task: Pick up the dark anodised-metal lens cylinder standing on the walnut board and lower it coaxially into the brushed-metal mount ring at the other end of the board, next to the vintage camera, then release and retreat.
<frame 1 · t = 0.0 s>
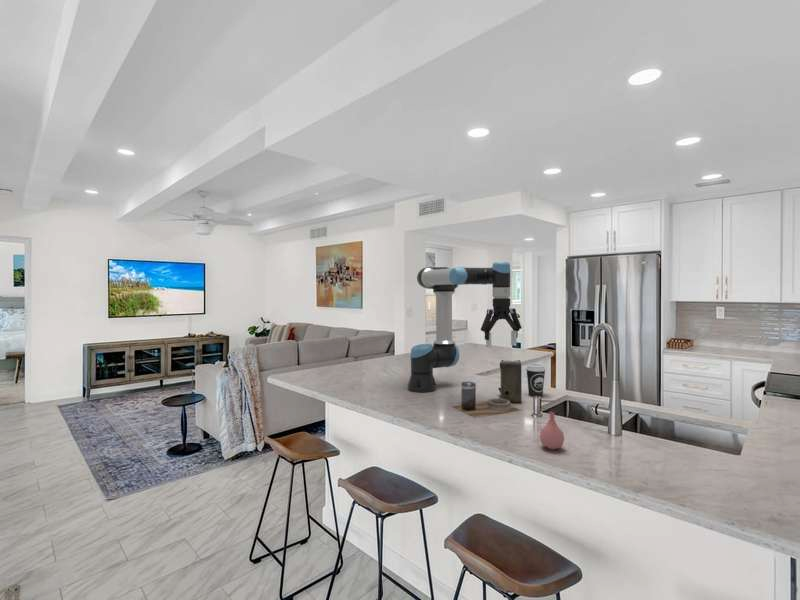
hand: (501, 346, 182), 28 cm above the countertop, fingers open, 13 cm apart
perfume bottle: (551, 448, 140), on the countertop
lens: (468, 408, 181), point 1 cm above the countertop, touching mount board
mount board: (486, 411, 181), on the countertop
vintage camera: (508, 399, 201), on the countertop
coffee cup: (535, 396, 207), on the countertop
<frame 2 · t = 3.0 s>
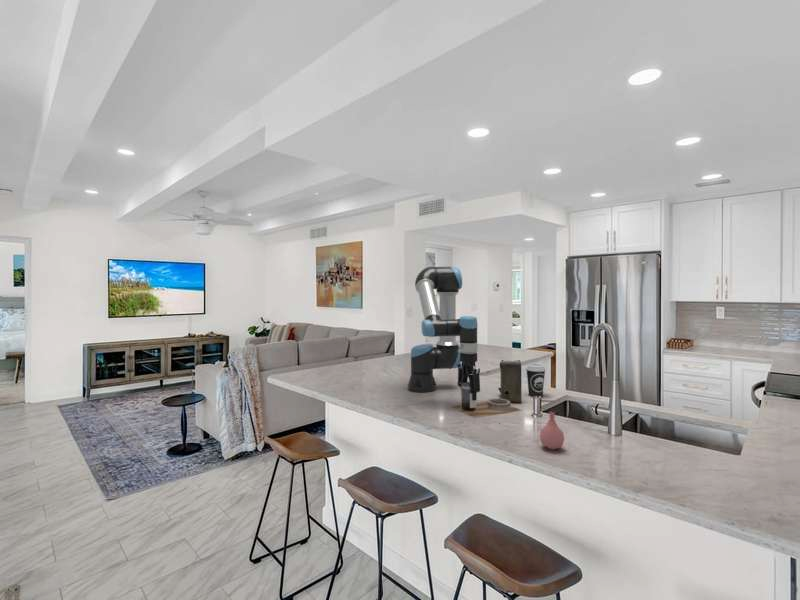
hand: (468, 405, 180), 3 cm above the countertop, fingers closed on lens, 6 cm apart
lens: (468, 408, 181), point 2 cm above the countertop, touching gripper, mount board
everything else where it was.
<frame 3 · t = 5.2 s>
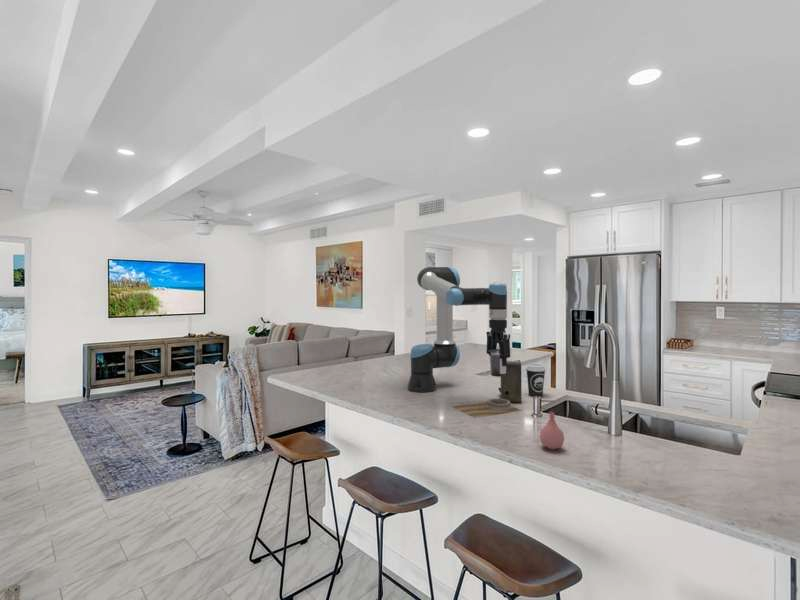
hand: (498, 372, 182), 17 cm above the countertop, fingers closed on lens, 6 cm apart
lens: (498, 375, 182), point 16 cm above the countertop, touching gripper
everything else where it was.
when the fingers open (4 cm above the countertop, at t = 7.4 s): lens drops 1 cm, resting on mount board.
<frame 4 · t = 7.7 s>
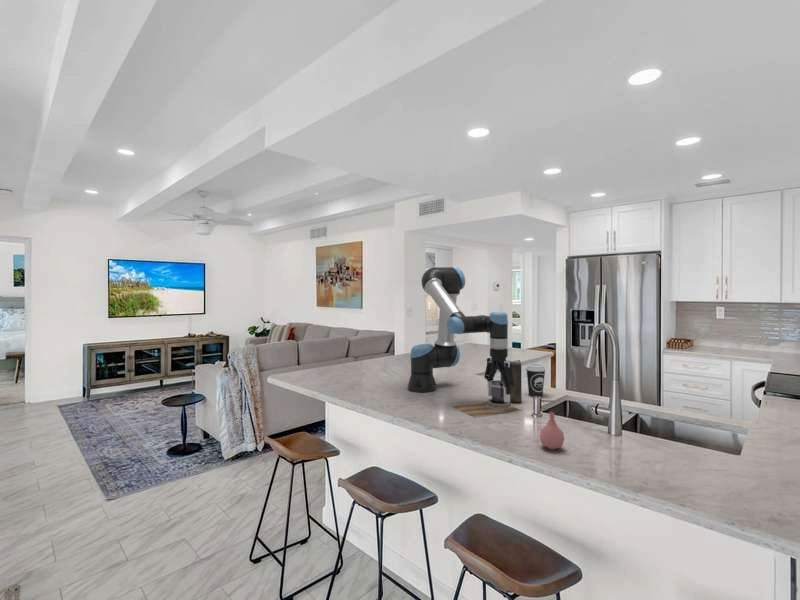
hand: (498, 398, 182), 5 cm above the countertop, fingers open, 10 cm apart
lens: (498, 407, 182), point 2 cm above the countertop, touching mount board
everything else where it was.
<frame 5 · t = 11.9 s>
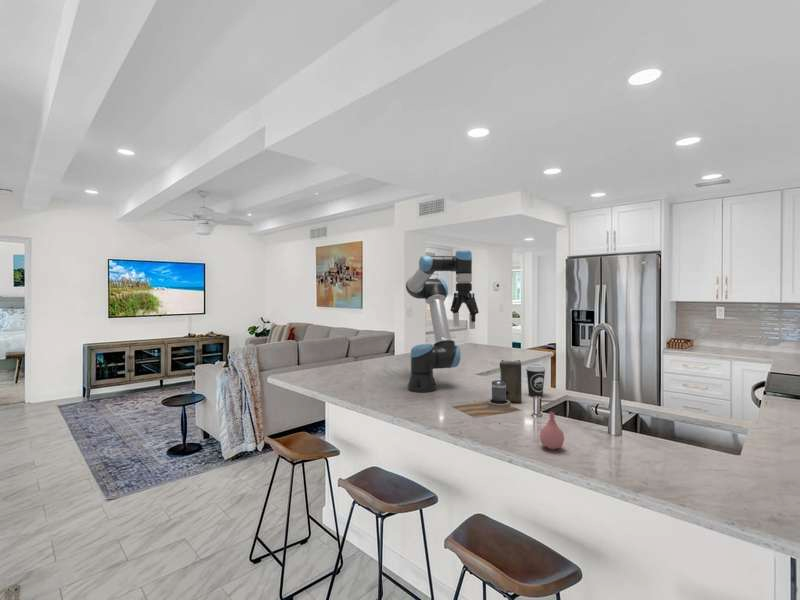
hand: (463, 327, 199), 35 cm above the countertop, fingers open, 13 cm apart
nothing on the countertop moved.
at the end: lens 0.1 cm from the target spot on the mount board, point 1.6 cm above the mount board's base; lens tilted 1°; the gripper is holding nothing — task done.
